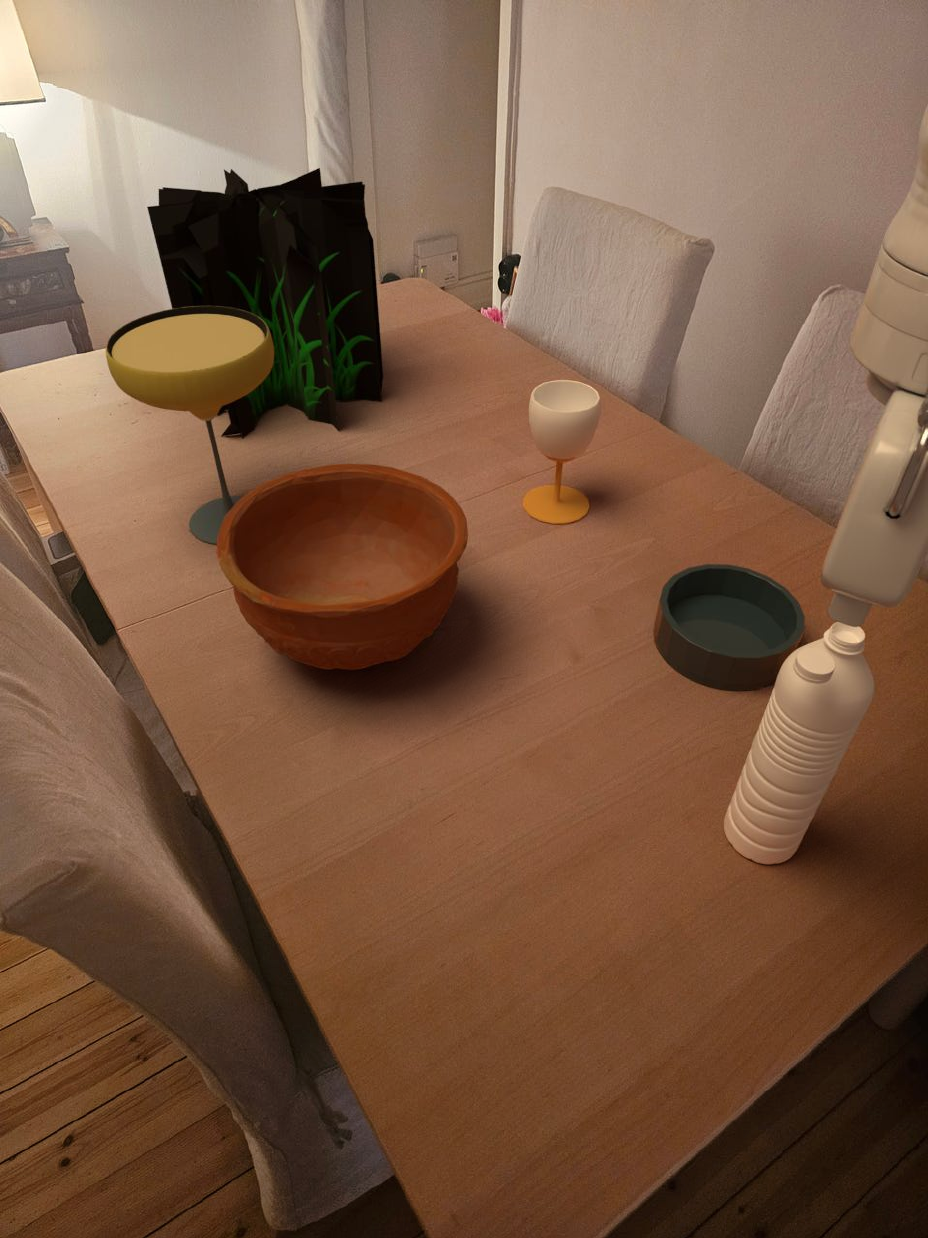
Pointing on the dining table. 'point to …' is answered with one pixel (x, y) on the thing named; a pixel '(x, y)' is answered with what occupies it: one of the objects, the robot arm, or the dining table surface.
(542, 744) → the dining table surface
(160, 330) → the cocktail glass
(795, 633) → the holder
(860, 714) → the water bottle
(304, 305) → the decorative plant
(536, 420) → the cup
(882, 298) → the robot arm
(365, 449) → the dining table surface
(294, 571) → the bowl
